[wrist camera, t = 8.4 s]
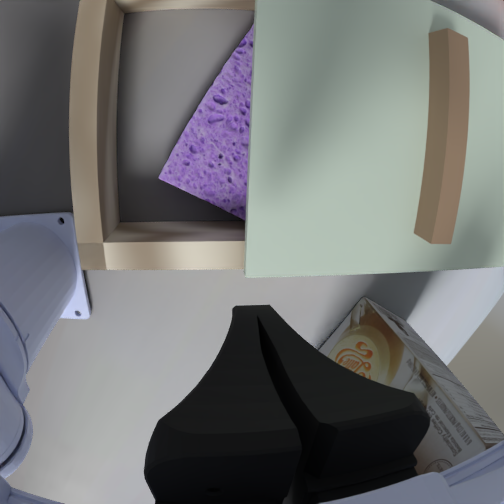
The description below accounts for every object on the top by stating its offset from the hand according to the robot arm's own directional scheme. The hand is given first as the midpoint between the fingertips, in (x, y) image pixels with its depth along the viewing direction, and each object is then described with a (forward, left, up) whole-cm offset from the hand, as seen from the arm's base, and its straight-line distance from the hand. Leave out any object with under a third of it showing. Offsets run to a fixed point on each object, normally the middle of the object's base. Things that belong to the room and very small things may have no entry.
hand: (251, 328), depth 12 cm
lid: (+11, +8, -6) cm, 15 cm away
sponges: (+2, +8, -10) cm, 13 cm away
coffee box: (+11, -10, -10) cm, 18 cm away
